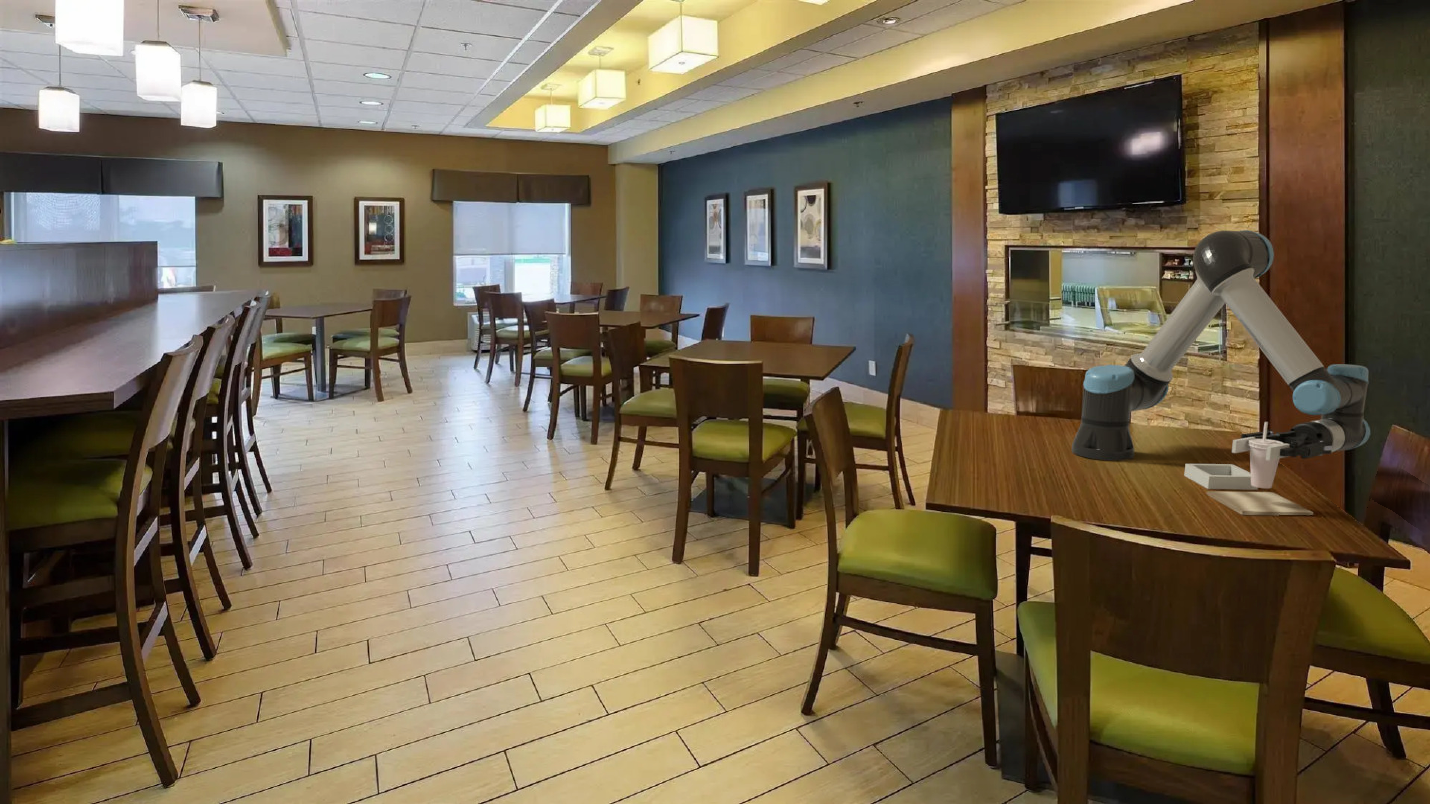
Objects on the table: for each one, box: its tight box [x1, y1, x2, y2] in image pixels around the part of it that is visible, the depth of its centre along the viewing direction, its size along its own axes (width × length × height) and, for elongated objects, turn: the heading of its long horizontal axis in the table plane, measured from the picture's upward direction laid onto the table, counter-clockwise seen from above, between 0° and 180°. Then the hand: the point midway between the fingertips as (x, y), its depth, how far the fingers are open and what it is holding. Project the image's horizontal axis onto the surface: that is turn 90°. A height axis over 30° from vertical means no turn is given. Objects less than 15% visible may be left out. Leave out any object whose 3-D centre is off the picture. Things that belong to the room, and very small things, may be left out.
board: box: [1206, 490, 1314, 516], centre depth 175 cm, size 14×14×1 cm
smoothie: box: [1248, 421, 1284, 489], centre depth 173 cm, size 6×6×14 cm
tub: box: [1183, 463, 1259, 491], centre depth 191 cm, size 11×11×3 cm
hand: (1251, 450), depth 170 cm, fingers closed on smoothie, 6 cm apart
